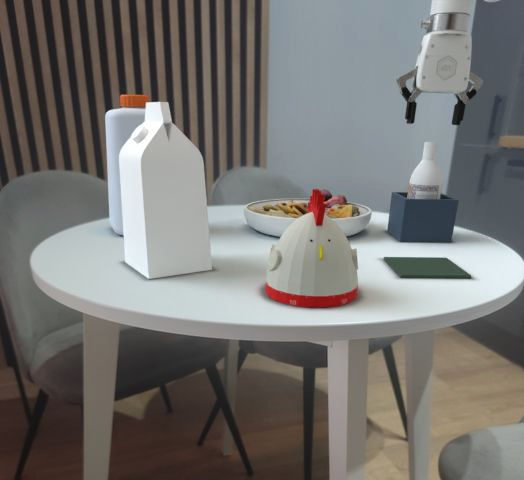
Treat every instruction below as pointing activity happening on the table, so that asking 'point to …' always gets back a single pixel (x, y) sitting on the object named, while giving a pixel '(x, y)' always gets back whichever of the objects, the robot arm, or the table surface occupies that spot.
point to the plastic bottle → (117, 134)
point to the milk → (163, 199)
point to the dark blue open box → (422, 218)
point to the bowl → (288, 210)
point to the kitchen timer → (313, 262)
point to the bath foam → (426, 175)
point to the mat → (425, 267)
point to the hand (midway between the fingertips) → (432, 124)
